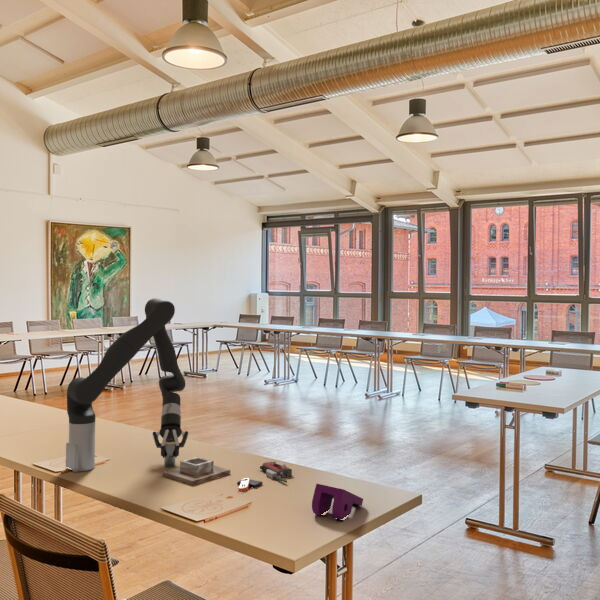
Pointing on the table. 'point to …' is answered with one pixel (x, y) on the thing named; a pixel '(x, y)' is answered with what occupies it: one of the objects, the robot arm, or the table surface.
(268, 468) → the walkie-talkie
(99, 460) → the table surface
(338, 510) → the mounting bracket
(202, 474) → the dock board
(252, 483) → the multimeter
